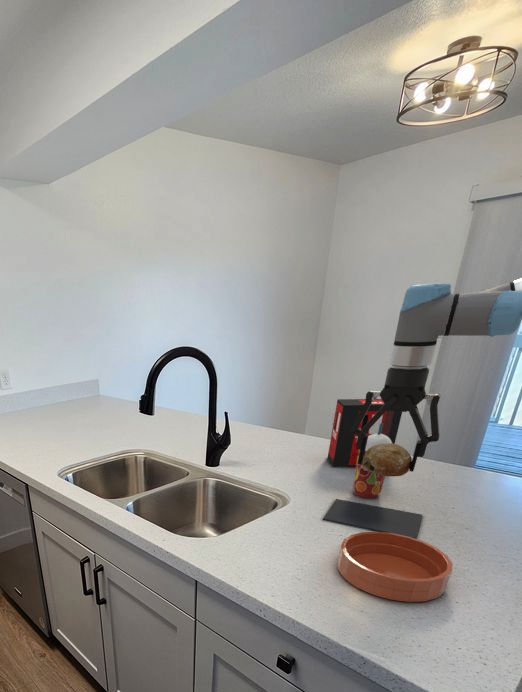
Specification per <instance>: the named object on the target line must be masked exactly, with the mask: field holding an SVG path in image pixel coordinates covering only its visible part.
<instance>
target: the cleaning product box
mask: <svg viewBox="0 0 522 692" xmlns="http://www.w3.org/2000/svg"><path fill="white" fill-rule="evenodd" d="M336 400H337V401H336V406H335V412H334V416H333V417H334V418H333V424H332V430H331V437H330V441H329V447H328V451H327V452H328V453H327V460H328V463H330V465H331V467H332V468H355V469H356V464H357V456H358V449H356V443H357V438H358V436H357V435H356V434H354V433H351V432H350V430H351V428H352V426H353V424H354V422H355V420H356V418H357V417H358V415H359V413H360V411H361V409H362V407H363V405H364V403H365V400H366V398H346V399H345V398H338V399H336ZM383 405H384V402H383V401H382V399H381V398H377V399H376V400H375V401H372V404H371V405H370V407H369V409H368V411H367V413H366V415H365V416H364V418H363V420H362V422H361V424H360V426H359V428H360V429H362V428H363V427H364V426H365V425H366V424H367V423H368V422H369V421H370V420H371V418H372V417H373V416H374V415H375V414H376V413H377V412H378V411H379V410H380V409H381V407H382V406H383ZM402 415H403V412H401V411H390V410H387V411H386V412H385V413H384V414H383V415H382V416H381V417H380V418H379V419H378V420H377V421H376V422H375V424H374V425H373V426H372V427H371V428H370V429H369V430H368V431H367V432H366V433H365V435H368V436H369V435H372V434H376V433H378V431H379V426H380V423H382V424H383V426H382V430H381V434H384V435H386V436H387V437H389V438H390V440H391V441H392V443H393V444H396V440H397V437H398V436H397V435H398V432H399V427H400V423H401V420H402Z"/></svg>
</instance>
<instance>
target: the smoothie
mask: <svg viewBox="0 0 522 692" xmlns="http://www.w3.org/2000/svg"><path fill="white" fill-rule="evenodd" d="M382 426H383V424H382V423H380V426H379V431H378V433H376V434H372V435H369V436H368V440H367V445H366V449H365V452H366V451H367V450H368V449H369V448H371V447H372V446H374V445H378V444H386V443H390V444H391V443H392V441H391V440H390V438H389V437H387V436H386V435H384V434H381V430H382ZM359 454H360V450H359V449H358V456H357V463H358V458H359ZM385 479H386V476H382V475H380V474H375V473H372V472H369V471H364V468H363V466H362V463H361V464H356V468H355V472H354V479H353V487H352V489H353V490H354V494H355V495H356V496H358V497H360V498H364V499H365V498H366V499H373V498H377V497H378V496H379V494H380V493H381V492H382V490H383V485H384V483H385Z"/></svg>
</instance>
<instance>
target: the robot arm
mask: <svg viewBox="0 0 522 692" xmlns="http://www.w3.org/2000/svg"><path fill="white" fill-rule="evenodd" d="M451 288H452V285H451V283H450V282H442V283H441V282H440V283H426V284H425V283H424V284H414V285H410V286H409V287H408V288H407V289H406V291H405V293H404V297H403V301H402V304H401V305H402V306H401V307H400V310H399V316H398V321H397V326H396V331H395V336H394V340H393V344H392V348H391V353H390V358H389V363H388V364H389V365H390V367H389V368H387V371H386V376H385V382H384V385H383V388H382V390H374V389H370V390H368V391H367V392H366V394H365V399H366V400H365V403H364V405H363V407H362V409H361V411H360V413H359V415H358V417H357V418H356V420H355V422H354V424H353V426H352V428H351V430H350V432H351V433H354V434H356V435H357V436H358V438H357V443H356V449H359V450H360V454H359V458H358V463H357V464H361V463H362V461H363V456H364V454H365V449H366V445H367V440H368V435H365V433H366V432H367V431H368V430H369V429H370V428H371V427H372V426H373V425H374V424H375V422H376V421H377V420H378V419H379V418H380V417H381V416H382V415H383V414H384V413H385V412H386V411H387V410H390V411H401V412H402V413H407V412H408V413H409V415H410V417H411V420H412V423H413V424H414V427H415V429H416V432H417V434H418V437H419V439H418V440H417V442H416V445H415V448H414V451H413V456H412V463H411V467H410V469H409V471H408V472H411V473H413V472H414V470H415V467H416V464H417V460H418V458H423V457H425V454H426V450H427V446H428V444H429V443H433V442H434V443H435V442H438V441H439V439H440V422H439V408H438V406H439V402H440V399H441V394H440V393H439V392H437V393H427V391H426V385H427V381H428V377H429V374H430V369H429V366H431V365H432V362H433V358H434V354H435V351H436V347H437V343H438V339H439V337H440V336H442V337H449V336H456V337H457V336H459V337H460V336H461V337H463V336H467V337H469V336H470V337H471V336H472V337H474V336H475V337H477V336H478V337H480V336H481V337H482V336H483V337H486V336H487V337H488V336H489V337H492V338H493V337H497V336H510V335H513V334H514V333H516V331H517V330H518V329H519V327H520V325H521V323H522V277H521V278H518V279H515V280H513V281H510V282H506V283H503V284H500V285H497V286H495V287H491V288H488V289H482V290H479V291H477V292H469V293H468V292H467V293H454V292H453V293H452V289H451ZM378 397H379V398H380V399H382V401H383V402H384V405H383V406H382V407H381V409H380V410H379V411H378V412H377V413H376V414H375V415H374V416H373V417H372V418H371V420H370V421H369V422H368V423H367V424H366V425H365V426H364V427H363V428H362V429H360V428H359V426H360V424H361V422H362V420H363V418H364V416H365V415H366V413H367V411H368V409H369V407H370V405H371V404H372V401H375V400H376V399H378ZM423 400H426V404H427V405H429V418H430V431H431V432H430V433H431V434H428V432H427V430H426V427H425V424H424V422H423V419H422V416H421V414H420V411H419V408H418V405H419V404H420V403H421V402H422V401H423Z"/></svg>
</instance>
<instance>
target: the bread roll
mask: <svg viewBox="0 0 522 692" xmlns="http://www.w3.org/2000/svg"><path fill="white" fill-rule="evenodd" d="M412 459H413V457H412V456H411V454H410V453H409V451H408V450H407V449H406V448H404V447H403V446H401V445H400V444H397V443H395V444H393V443H391V444H390V443H386V444H378V445H374V446H372V447H371V448H369V449H368V450H367V451H366V452H365V454H364V456H363V461H362V466H363V468H364V471H369V472H372V473H375V474H380V475H382V476H385V477H402V476H404V475H406V474H407V473H408V472H410V471H409V470H410V467H411V463H412Z"/></svg>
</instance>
